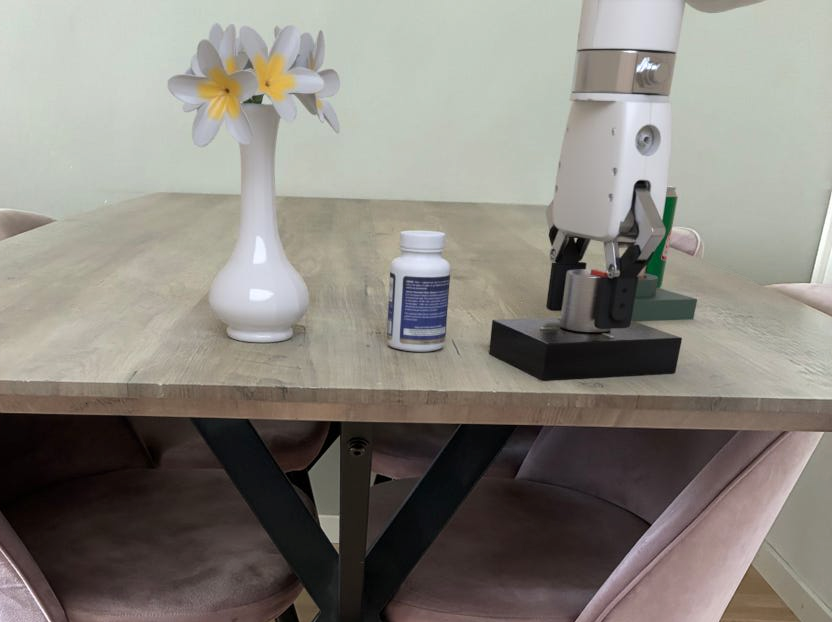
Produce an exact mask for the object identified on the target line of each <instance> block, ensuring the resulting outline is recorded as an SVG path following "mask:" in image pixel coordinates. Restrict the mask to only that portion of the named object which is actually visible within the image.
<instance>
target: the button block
mask: <svg viewBox="0 0 832 622" xmlns="http://www.w3.org/2000/svg"><path fill="white" fill-rule="evenodd" d="M657 283H658V277H657V276H655V275H651V274H647V273H645V275H644V278H638V284H637V289H636V295H635V301H634V307H633V313H632V319H631V321H634V322H657V321H658V322H659V321H684V320H685V321H689V320H694V317H695V313H696V308H697V303H698V298H695V297H692V296H688V295H684V294H681V293H677V292H674V291H670V290H667V289H663V288H661V287H660V288H657Z"/></svg>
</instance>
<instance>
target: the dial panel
mask: <svg viewBox="0 0 832 622" xmlns="http://www.w3.org/2000/svg"><path fill="white" fill-rule="evenodd" d="M560 318H561V316H558V317H532V318H531V317H530V318H502V319H492V321H491V330H490V340H489V349H488V354H489V355H491V356H493V357H495V358H497V359H499V360H501V361H503V362H505V363H507V364H508V365H511V366H513V367H515V368H517V369H520V370H521V371H523V372H525V373H528V374H529V375H531V376H533V377H535V378H537V379H539V380H540V381H545V382H546V381H559V380H576V379H577V380H579V379H580V380H581V379H594V378H595V379H596V378H613V377H614V376H615V377H627V376H626V375H633V376H643V375H642V374H651V375H663V374H662V373H669V374H676V372H677V365H678V361H679V356H680V351H681V345H682V341H683V337H682V336H681V337H680V336H678V335H675V334H672V333H670V332H667V331H664V330H660V329H657V328H655V327H652V326H648V325H646V324H643V323H640V322H638V321H635V322H634V321H631V324H630V326H629V327H628V328H614V329H611V330H610V331H608V332H602V333H585V332H576V331H571V330H566V329H564V328H561V327H560ZM660 373H661V374H660ZM624 375H625V376H624Z"/></svg>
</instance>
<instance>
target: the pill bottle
mask: <svg viewBox="0 0 832 622" xmlns="http://www.w3.org/2000/svg"><path fill="white" fill-rule="evenodd" d="M398 243H399V248H398V249H399V250H401V254H400V256H398V257H396V258H394V259H393V260H392V262H391V263H390V269H389V281H388V282H389V285H388V301H387V302H388V306H387V307H388V308H387V326H386V343H387V345H388V346H389V347H390V348H393V349H396V350H400V351H405V352H413V353H414V352H415V353H428V352H434V351H439V350H441V349H443V348H444V347H445V344H446V336H447V323H448V322H447V321H448V310H449V309H448V308H449V295H450V285H451V284H450V283H451V265H450V263H449V261H448V260H446V259H445V258H443V257H442V253H443V252H444V251H445V247H446V233H445V232H443V231H435V230H421V229H420V230H418V229H417V230H416V229H415V230H412V229H411V230H402V231H400V233H399V242H398Z"/></svg>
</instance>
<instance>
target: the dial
mask: <svg viewBox="0 0 832 622" xmlns="http://www.w3.org/2000/svg"><path fill="white" fill-rule="evenodd" d="M601 277H608V275H607V270H601V269H598V268H595V269H592V268H586V269H574V270H569V271H567V273H566V281H565V288H564V296H563V303H562V310H561V311H560V317H561V318H560V327H561V328H564V329H566V330H571V331H576V332H585V333H602V332H608V331H610V330H611V329H599V328H596V327H595V325H594V321H595V314H596V308H597V301H598V295H599V288H600V282H601Z"/></svg>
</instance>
